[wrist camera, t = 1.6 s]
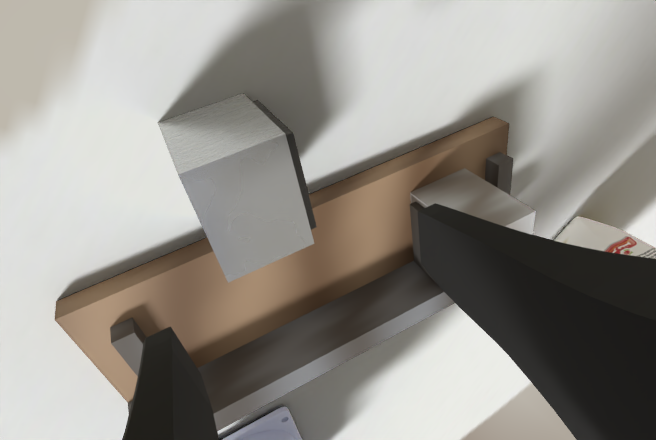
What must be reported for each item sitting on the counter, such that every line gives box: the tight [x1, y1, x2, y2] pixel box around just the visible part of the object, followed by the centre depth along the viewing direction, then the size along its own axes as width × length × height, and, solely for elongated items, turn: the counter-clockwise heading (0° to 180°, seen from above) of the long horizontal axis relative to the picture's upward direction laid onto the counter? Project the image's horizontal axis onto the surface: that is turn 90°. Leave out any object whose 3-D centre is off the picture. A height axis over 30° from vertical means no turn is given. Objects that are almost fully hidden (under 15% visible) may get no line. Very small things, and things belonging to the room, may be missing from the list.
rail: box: [55, 117, 536, 431], centre depth 22 cm, size 24×8×6 cm, turn 102°
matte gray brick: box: [158, 93, 317, 283], centre depth 17 cm, size 5×4×5 cm
